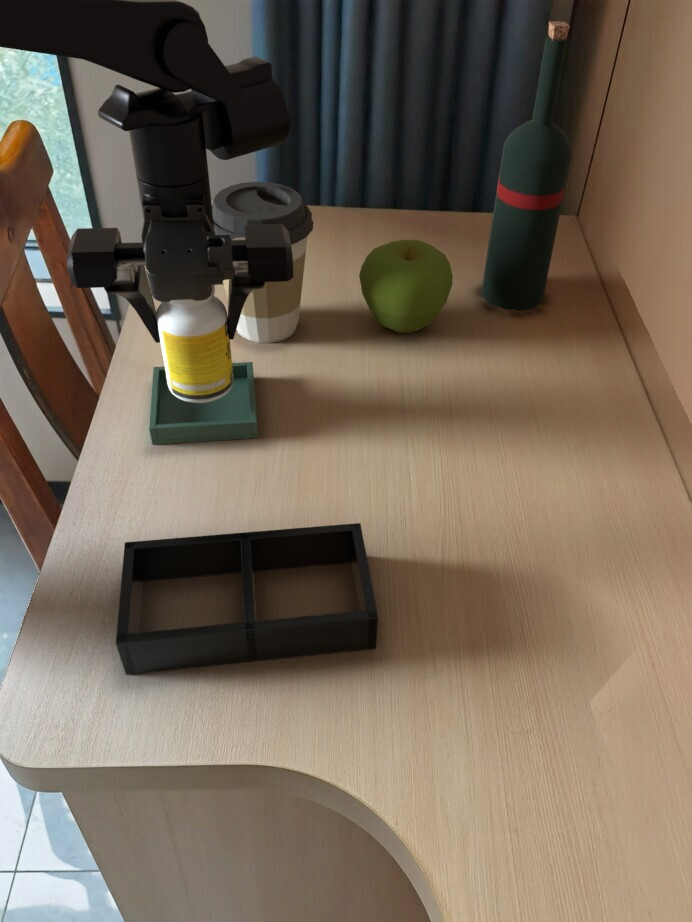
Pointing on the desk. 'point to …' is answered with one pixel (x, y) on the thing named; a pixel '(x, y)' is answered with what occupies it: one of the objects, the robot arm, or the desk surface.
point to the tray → (204, 411)
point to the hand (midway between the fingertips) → (194, 338)
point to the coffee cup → (279, 302)
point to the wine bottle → (529, 193)
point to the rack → (250, 635)
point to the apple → (405, 284)
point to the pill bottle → (196, 348)
